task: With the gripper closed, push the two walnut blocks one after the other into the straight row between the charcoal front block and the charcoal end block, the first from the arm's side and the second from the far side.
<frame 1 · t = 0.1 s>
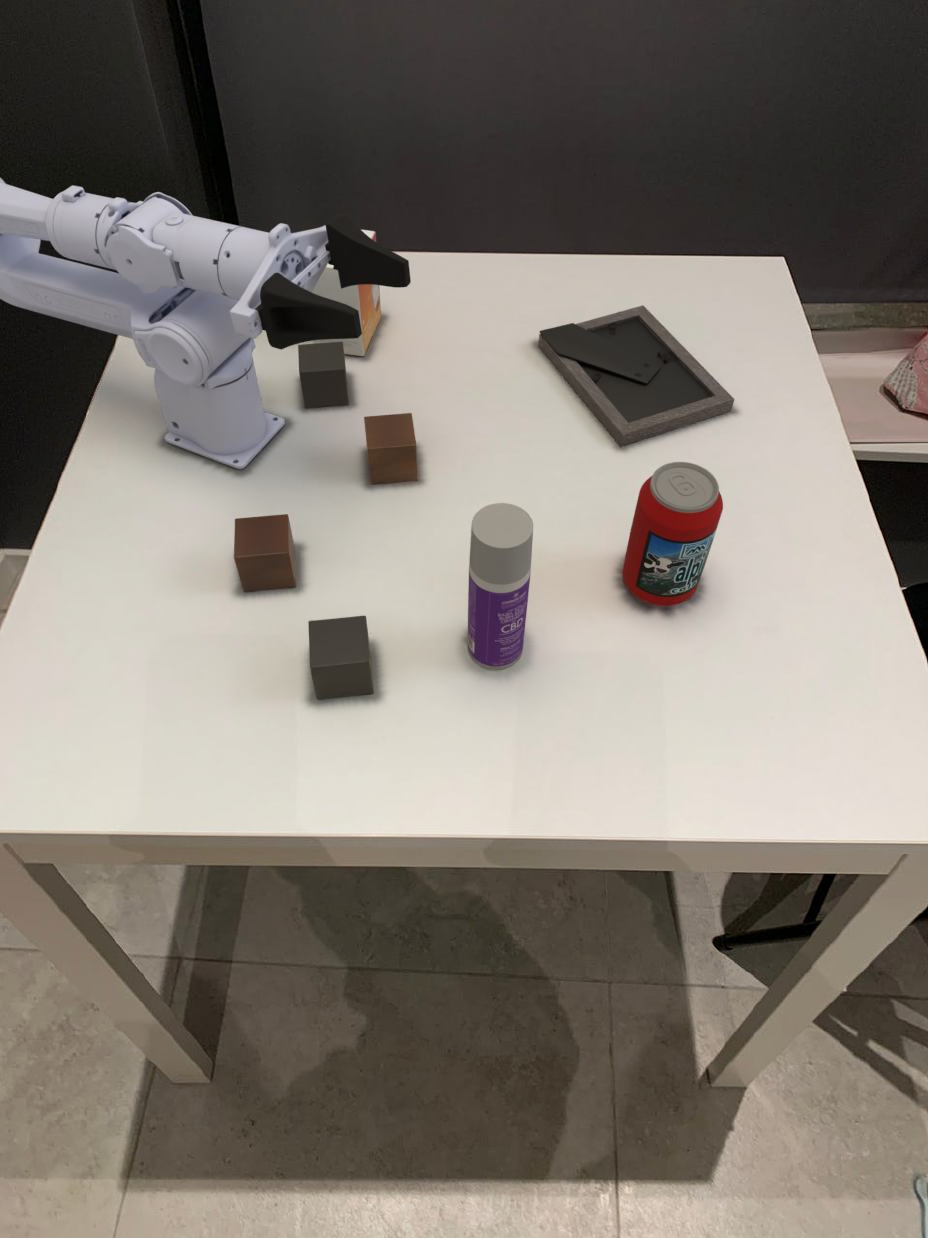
hand: (383, 298, 72), 22 cm above the table, tool horizontal, fingers open, 7 cm apart
charcoal front block: (343, 673, 77), on the table
container: (494, 648, 79), on the table
beverage can: (658, 583, 83), on the table
walnut block 1: (269, 570, 83), on the table
walnut block 2: (392, 466, 92), on the table
charcoal end block: (326, 392, 98), on the table
small box: (350, 334, 105), on the table
picture frame: (631, 379, 101), on the table
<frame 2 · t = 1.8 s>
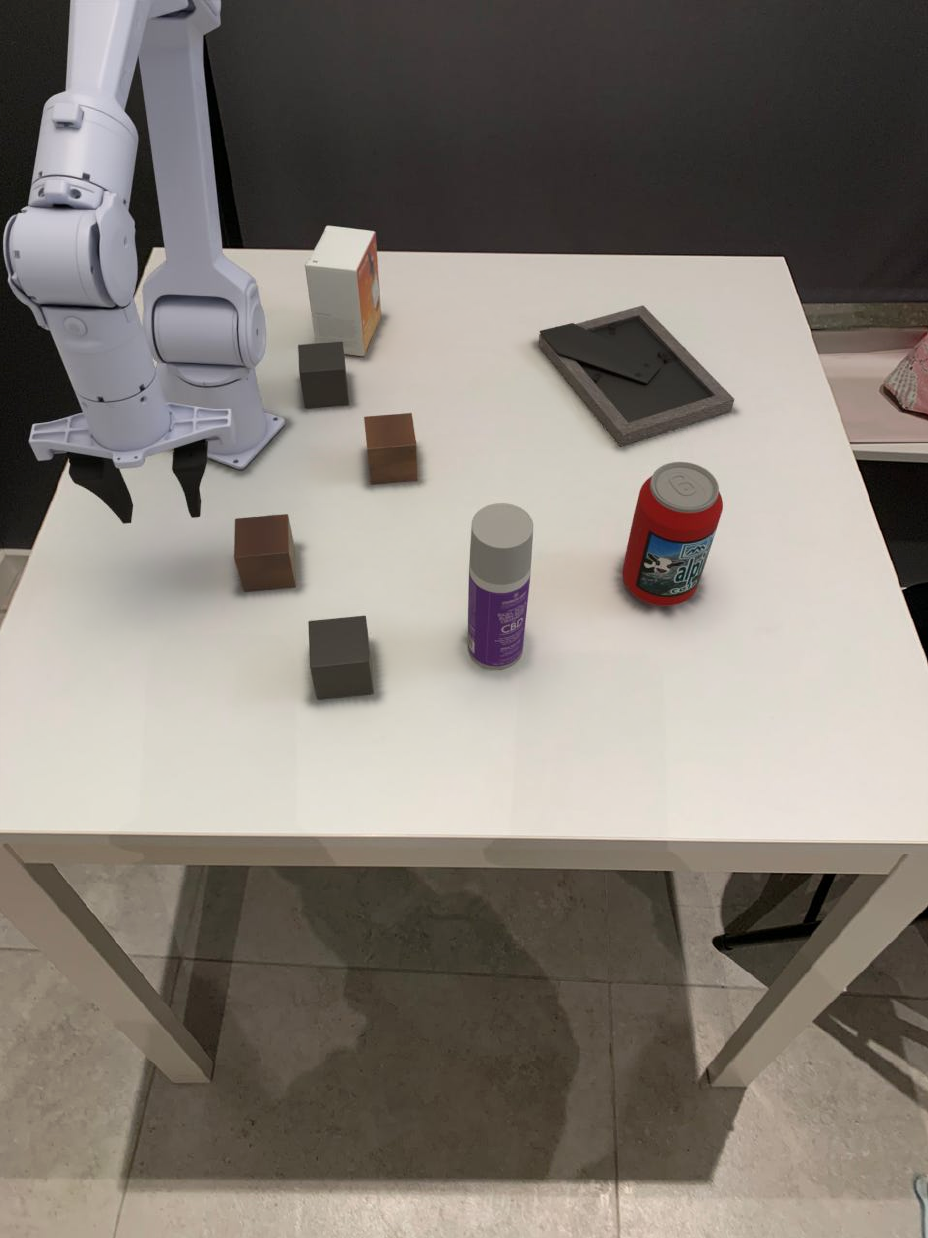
hand: (162, 511, 76), 8 cm above the table, tool pointing down, fingers open, 5 cm apart
nothing on the table moved.
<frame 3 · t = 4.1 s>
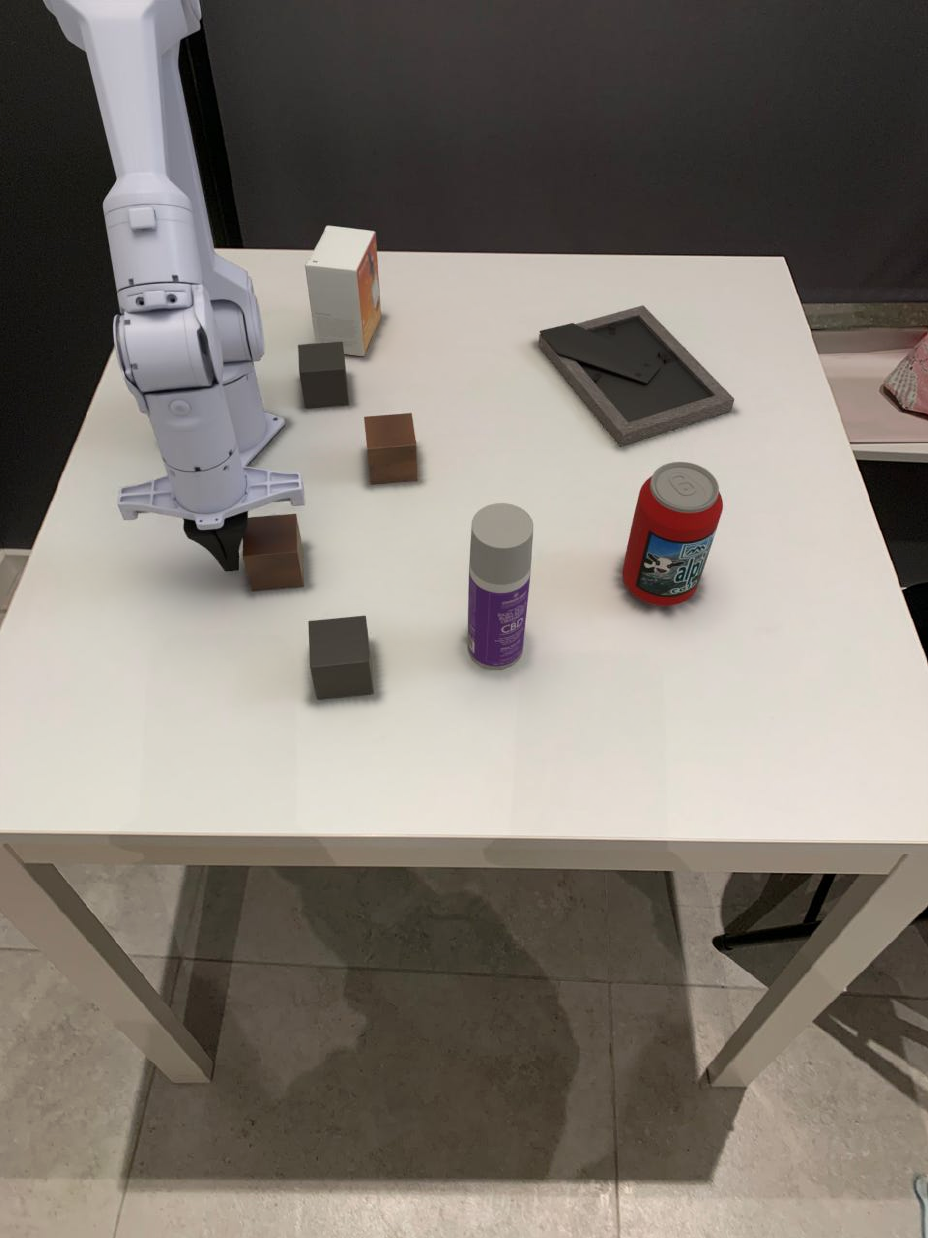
hand: (232, 563, 82), 1 cm above the table, tool pointing down, fingers closed
walnut block 1: (277, 569, 83), on the table, touching gripper
everything else where it was.
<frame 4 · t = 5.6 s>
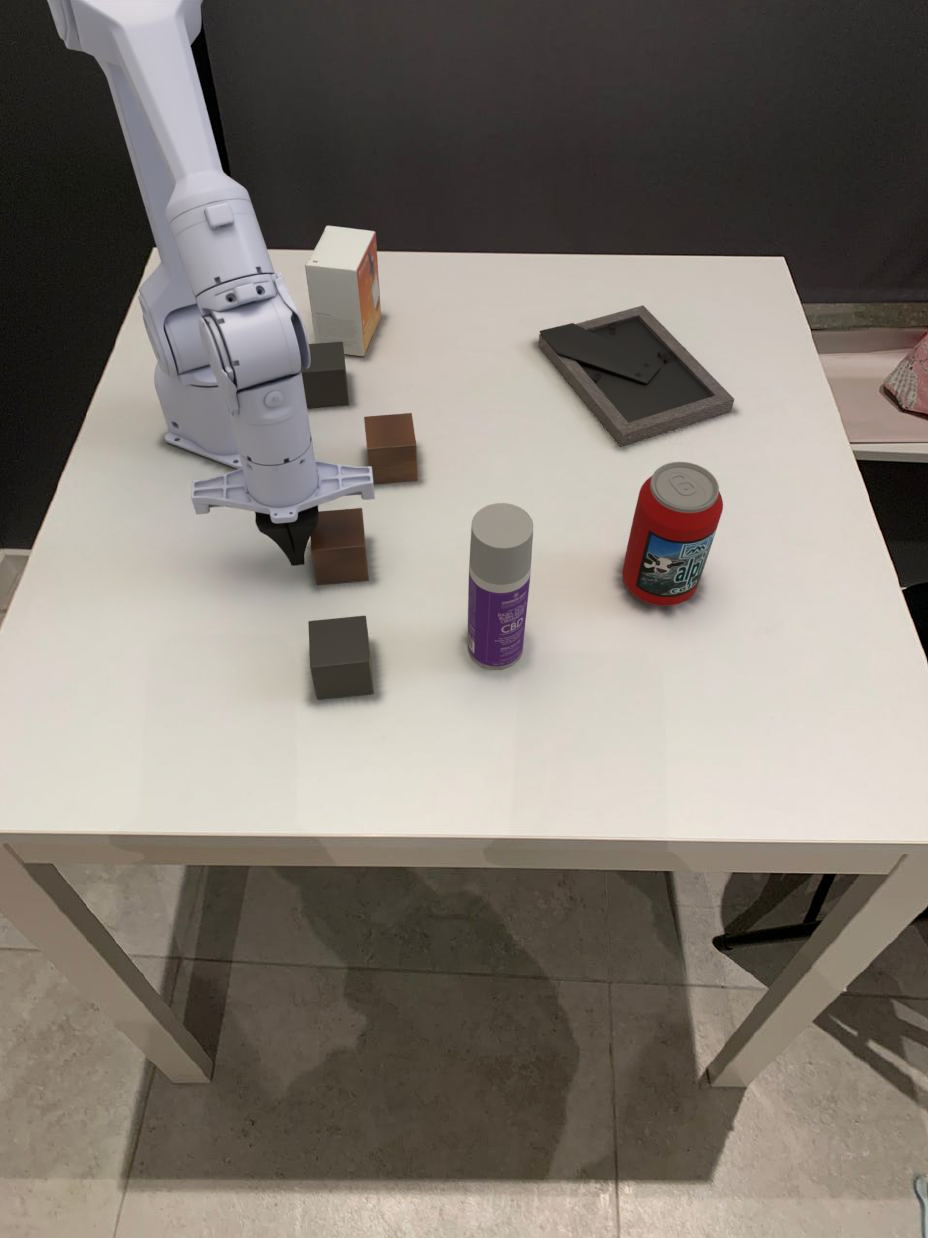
hand: (297, 556, 83), 1 cm above the table, tool pointing down, fingers closed
walnut block 1: (341, 563, 84), on the table, touching gripper
everything else where it was.
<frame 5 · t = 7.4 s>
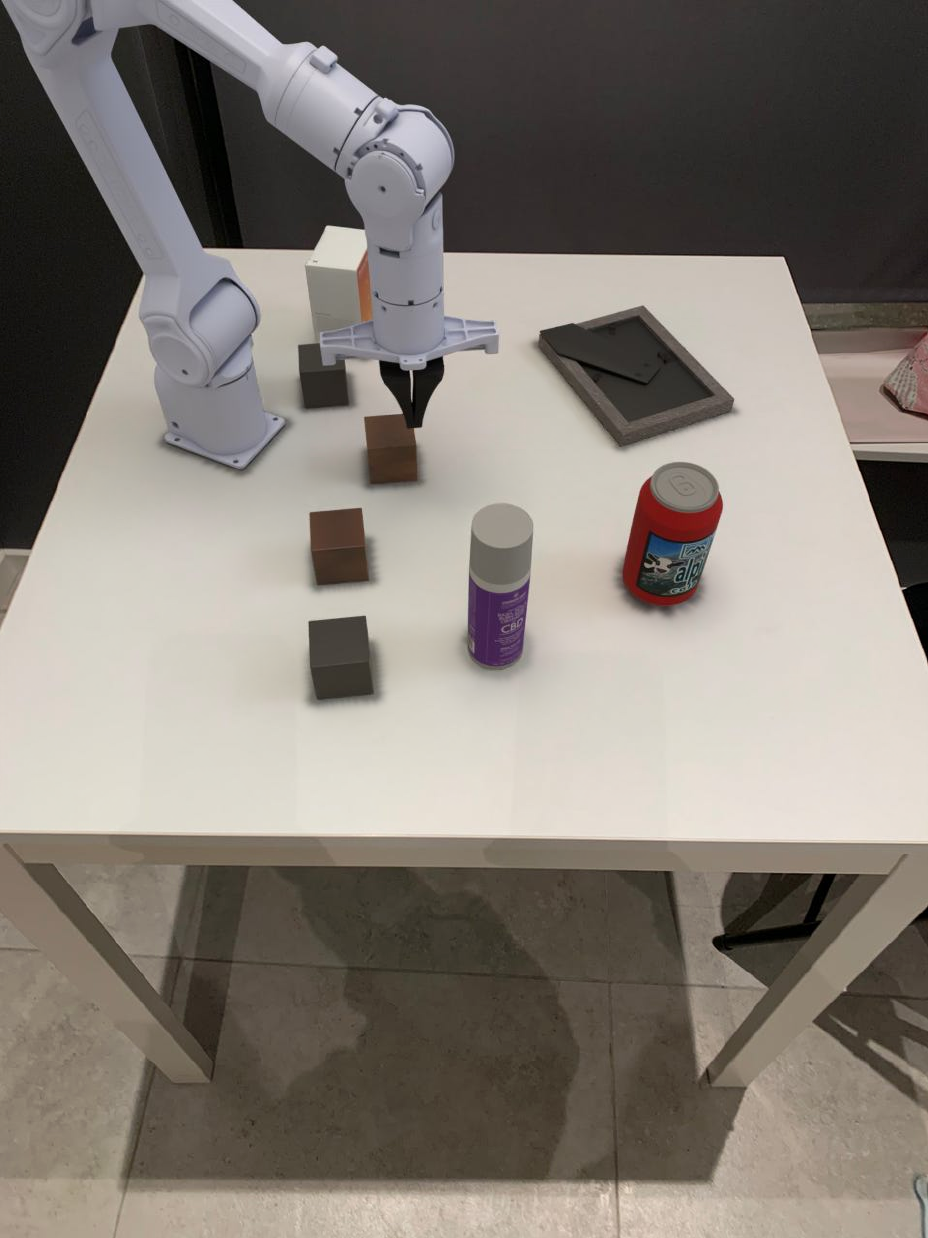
hand: (413, 420, 83), 8 cm above the table, tool pointing down, fingers closed
walnut block 1: (341, 563, 84), on the table
everything else where it was.
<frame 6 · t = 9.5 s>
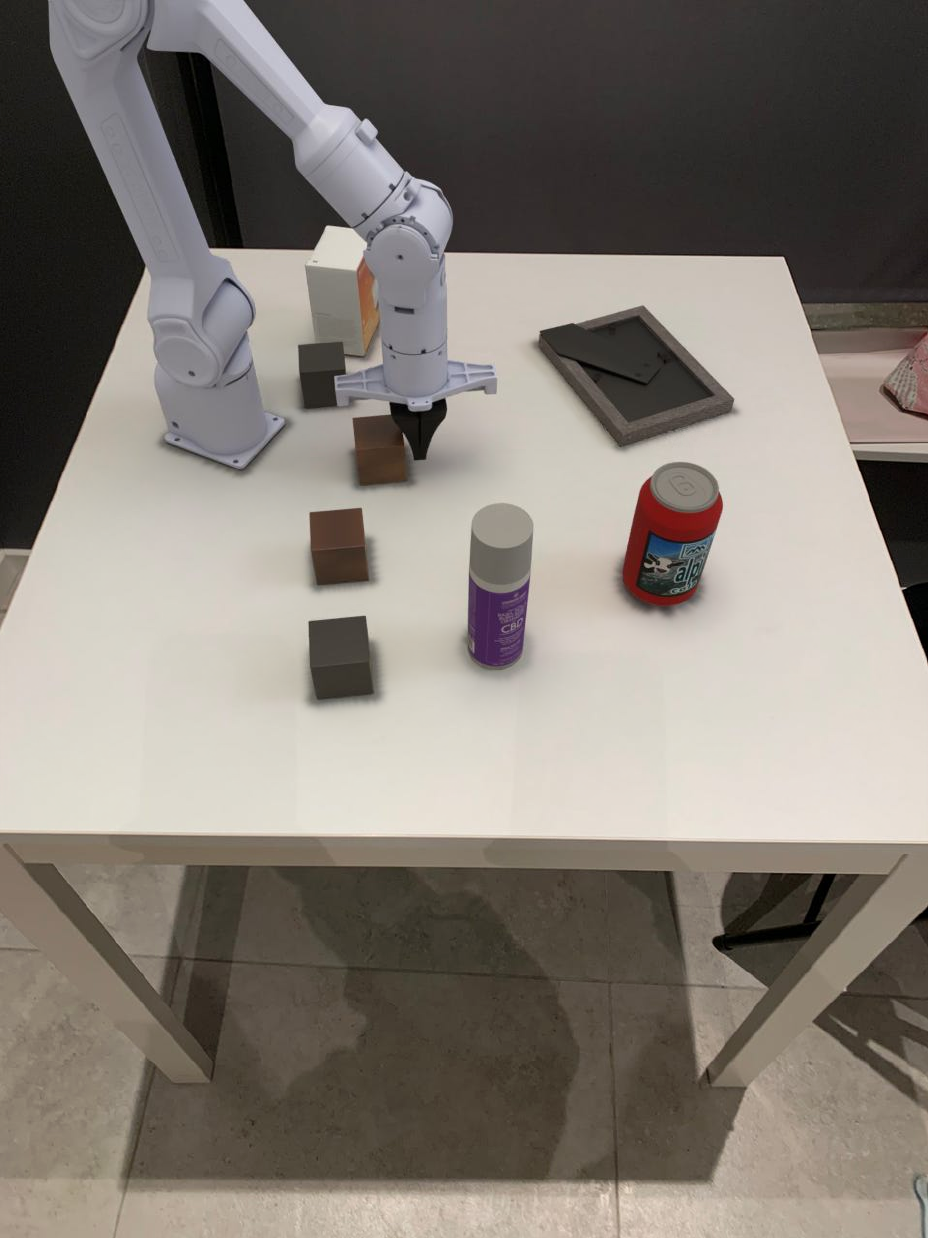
hand: (419, 453, 91), 1 cm above the table, tool pointing down, fingers closed
walnut block 2: (381, 467, 92), on the table, touching gripper
everything else where it was.
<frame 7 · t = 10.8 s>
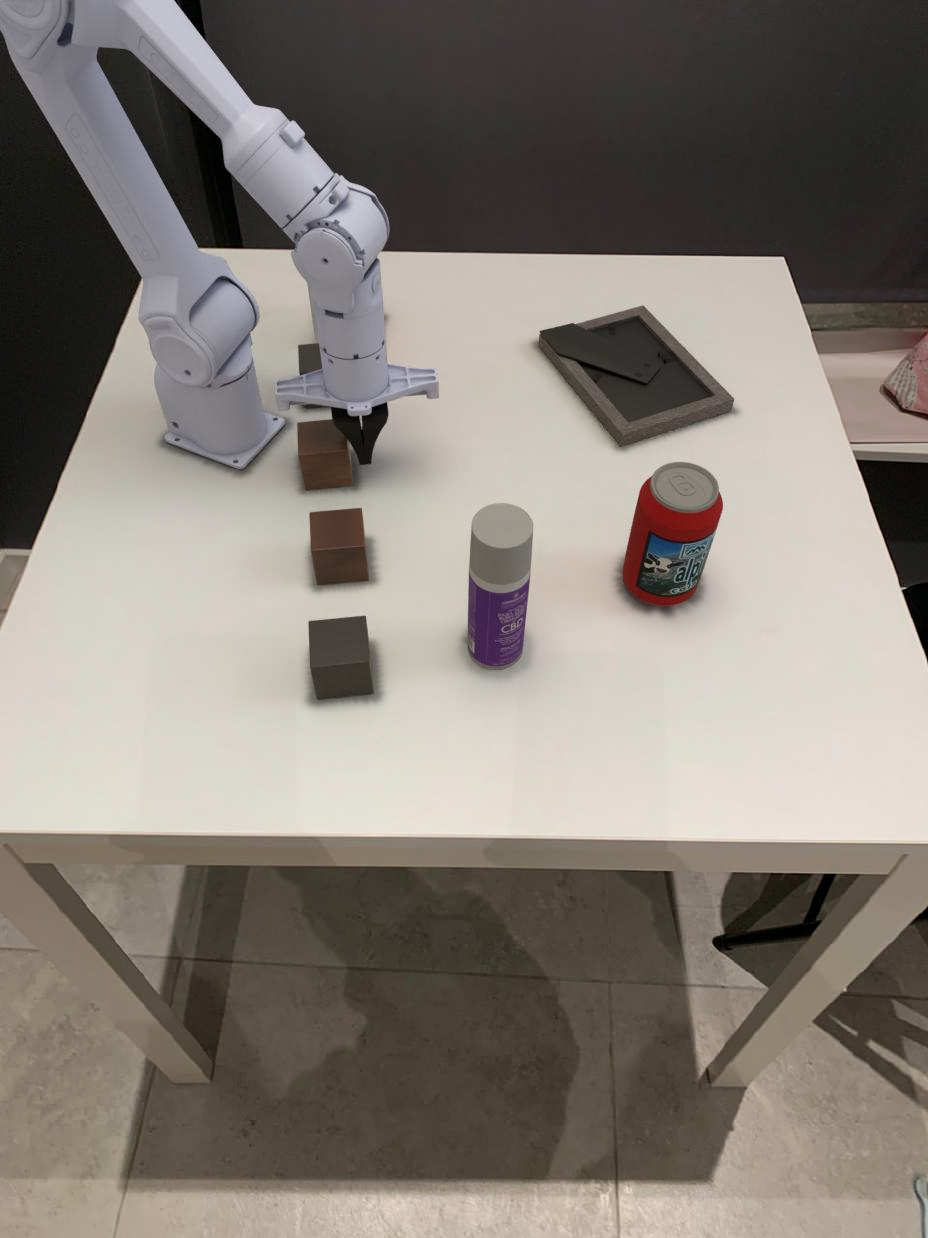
hand: (364, 457, 90), 1 cm above the table, tool pointing down, fingers closed
walnut block 2: (328, 471, 91), on the table, touching gripper
everything else where it was.
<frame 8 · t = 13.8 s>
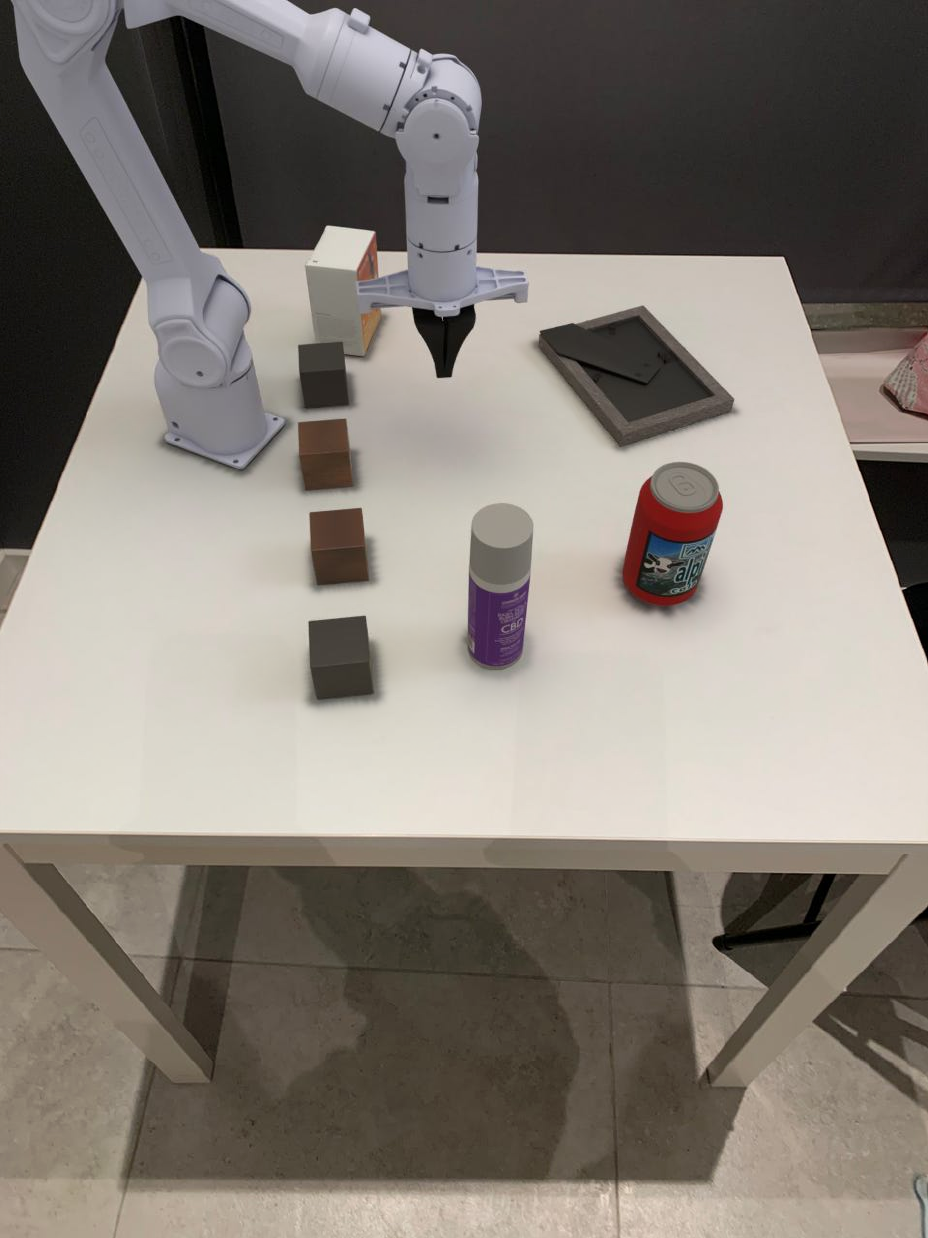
hand: (443, 371, 86), 9 cm above the table, tool pointing down, fingers closed
walnut block 2: (328, 472, 91), on the table
everything else where it was.
at the end: walnut block 1 0.4 cm from the target spot on the table beside the charcoal front block, on the table; walnut block 2 0.3 cm from the target spot on the table beside the charcoal end block, on the table; charcoal end block moved 0.0 cm from its start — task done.
